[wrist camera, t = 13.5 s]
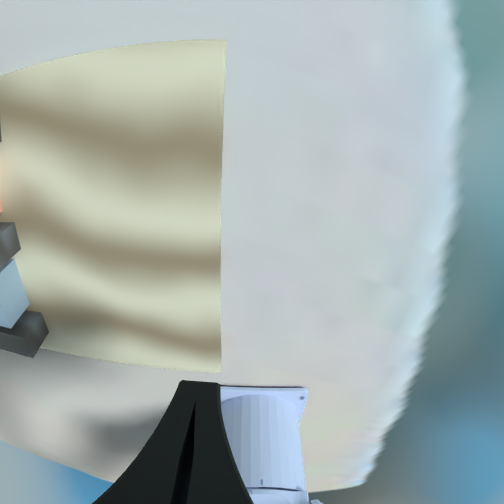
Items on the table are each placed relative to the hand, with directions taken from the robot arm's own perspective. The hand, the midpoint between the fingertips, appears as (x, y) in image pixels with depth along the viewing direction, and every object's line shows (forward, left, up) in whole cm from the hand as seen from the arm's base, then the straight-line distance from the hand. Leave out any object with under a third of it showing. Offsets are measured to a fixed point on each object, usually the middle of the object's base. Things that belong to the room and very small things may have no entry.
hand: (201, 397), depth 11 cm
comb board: (+2, +11, -9) cm, 15 cm away
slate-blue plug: (-2, +17, -9) cm, 19 cm away
